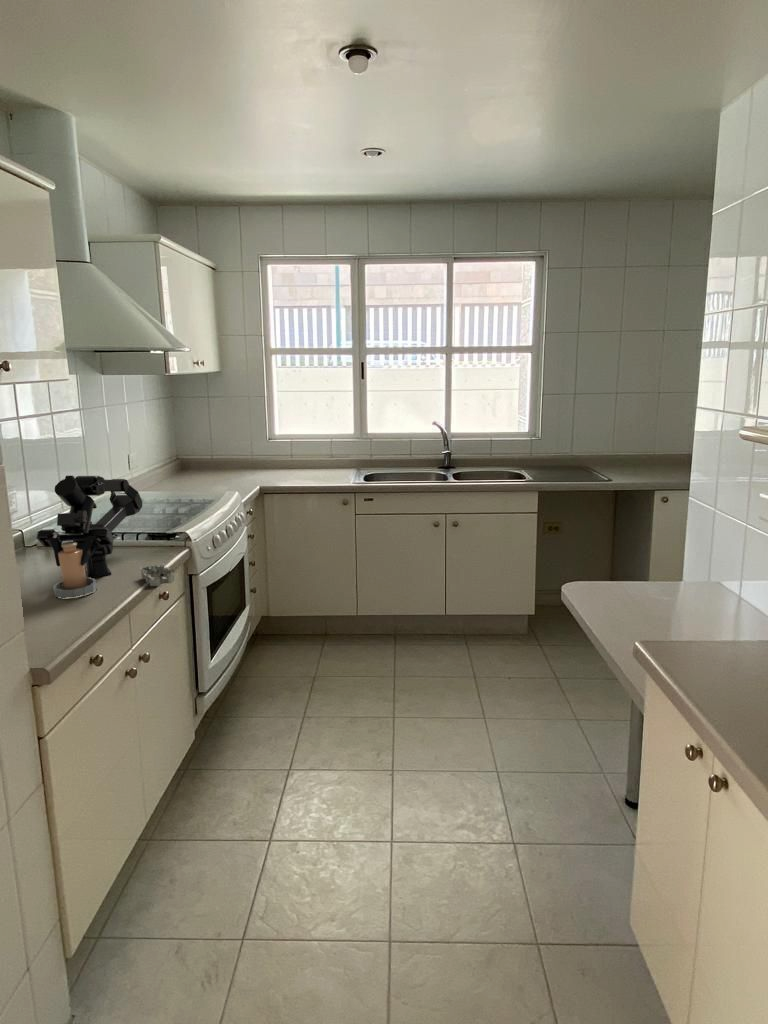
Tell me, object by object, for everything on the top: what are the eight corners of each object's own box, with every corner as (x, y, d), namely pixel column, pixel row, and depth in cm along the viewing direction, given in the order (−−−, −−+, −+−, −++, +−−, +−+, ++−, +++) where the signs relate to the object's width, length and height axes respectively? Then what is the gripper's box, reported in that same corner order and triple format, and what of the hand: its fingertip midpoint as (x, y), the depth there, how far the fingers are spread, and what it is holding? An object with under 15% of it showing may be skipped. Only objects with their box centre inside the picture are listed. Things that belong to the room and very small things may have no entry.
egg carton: (177, 583, 189) (175, 569, 188) (149, 589, 185) (148, 575, 184) (165, 573, 198) (164, 559, 197) (139, 578, 194) (138, 564, 193)
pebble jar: (65, 584, 185) (59, 541, 182) (88, 581, 186) (82, 539, 183) (61, 591, 179) (54, 548, 176) (85, 589, 181) (79, 545, 178)
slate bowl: (52, 590, 185) (51, 582, 184) (92, 583, 190) (91, 574, 189) (57, 602, 176) (56, 593, 176) (100, 593, 182) (98, 585, 181)
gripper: (33, 501, 180) (20, 553, 172) (104, 498, 181) (94, 550, 173) (50, 521, 190) (39, 571, 182) (117, 519, 191) (109, 569, 183)
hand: (70, 565), depth 180 cm, fingers closed on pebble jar, 6 cm apart
